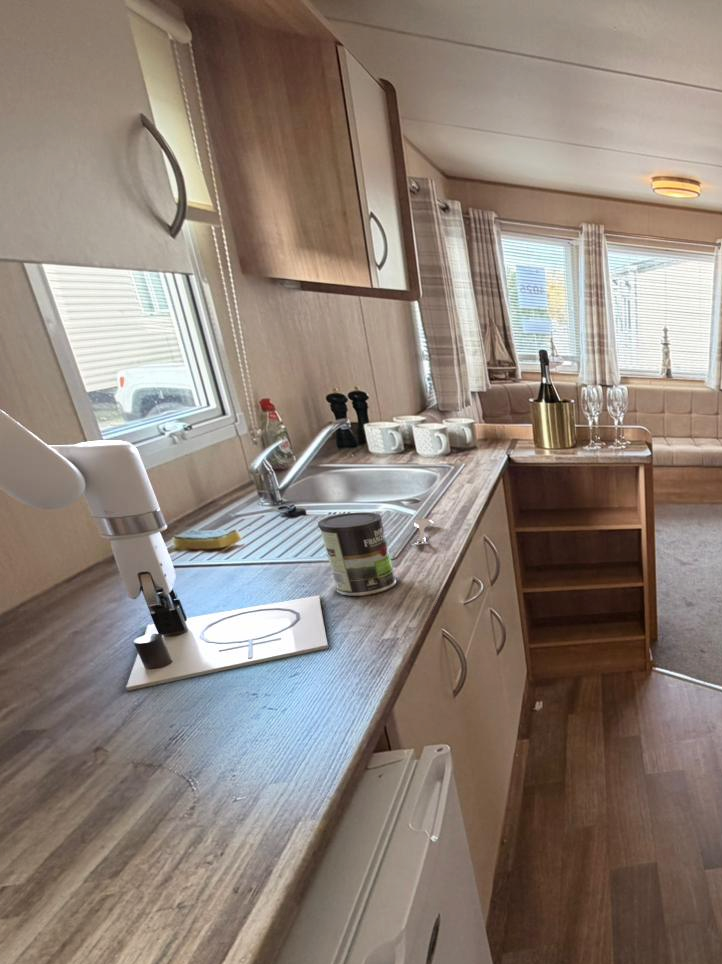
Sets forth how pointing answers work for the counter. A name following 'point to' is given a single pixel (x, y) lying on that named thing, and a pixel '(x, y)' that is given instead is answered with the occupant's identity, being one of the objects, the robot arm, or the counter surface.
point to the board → (237, 640)
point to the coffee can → (357, 553)
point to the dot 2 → (183, 623)
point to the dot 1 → (153, 651)
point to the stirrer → (421, 529)
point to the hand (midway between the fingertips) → (173, 626)
